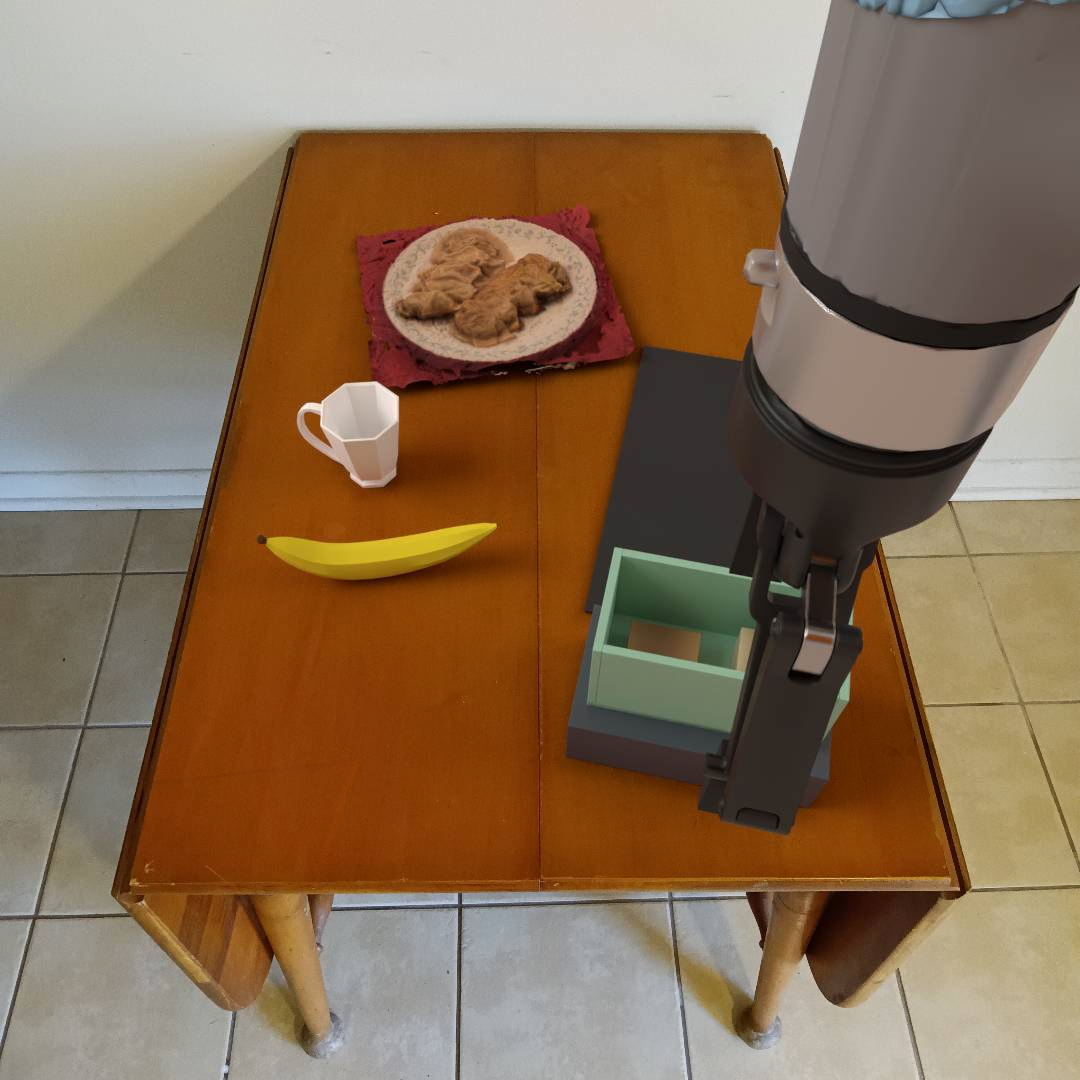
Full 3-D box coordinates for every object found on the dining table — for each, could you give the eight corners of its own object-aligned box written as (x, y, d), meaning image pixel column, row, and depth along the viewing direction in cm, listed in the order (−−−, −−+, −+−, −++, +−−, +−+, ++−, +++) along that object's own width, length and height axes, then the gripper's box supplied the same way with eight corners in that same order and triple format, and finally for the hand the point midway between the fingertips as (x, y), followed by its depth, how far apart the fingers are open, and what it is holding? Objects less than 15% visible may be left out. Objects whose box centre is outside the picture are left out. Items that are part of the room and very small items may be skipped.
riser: (816, 685, 74) (836, 650, 69) (808, 808, 69) (829, 780, 64) (590, 640, 77) (594, 604, 72) (565, 756, 71) (567, 725, 66)
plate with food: (635, 366, 94) (639, 340, 91) (374, 396, 91) (369, 370, 88) (585, 216, 107) (587, 189, 104) (356, 237, 104) (351, 210, 101)
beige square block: (787, 664, 68) (800, 637, 65) (783, 714, 66) (796, 690, 63) (731, 653, 69) (741, 626, 65) (725, 703, 67) (735, 678, 63)
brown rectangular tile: (697, 648, 69) (701, 633, 67) (690, 693, 67) (695, 678, 65) (628, 635, 69) (631, 619, 67) (620, 679, 68) (623, 664, 66)
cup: (394, 509, 84) (382, 451, 77) (291, 481, 85) (270, 422, 79) (424, 450, 88) (414, 390, 81) (324, 424, 89) (307, 363, 82)
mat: (784, 369, 93) (785, 367, 93) (755, 645, 76) (755, 643, 76) (643, 347, 95) (644, 345, 95) (584, 612, 78) (584, 610, 78)
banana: (501, 572, 80) (499, 529, 75) (274, 595, 79) (255, 553, 74) (498, 543, 82) (495, 500, 77) (275, 565, 81) (257, 523, 75)
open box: (822, 650, 69) (854, 591, 62) (815, 752, 65) (849, 700, 58) (607, 608, 71) (614, 546, 64) (586, 705, 67) (592, 649, 60)
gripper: (780, 113, 35) (698, 473, 53) (693, 714, 22) (623, 921, 40) (990, 140, 34) (834, 497, 52) (1032, 784, 21) (804, 964, 39)
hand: (742, 681), depth 46 cm, fingers open, 12 cm apart
